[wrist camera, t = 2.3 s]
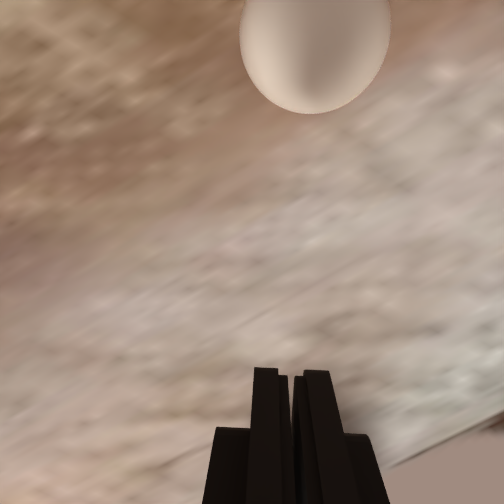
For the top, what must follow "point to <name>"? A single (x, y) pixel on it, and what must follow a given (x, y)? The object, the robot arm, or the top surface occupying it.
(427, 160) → the top surface
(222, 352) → the top surface
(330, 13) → the cue ball
